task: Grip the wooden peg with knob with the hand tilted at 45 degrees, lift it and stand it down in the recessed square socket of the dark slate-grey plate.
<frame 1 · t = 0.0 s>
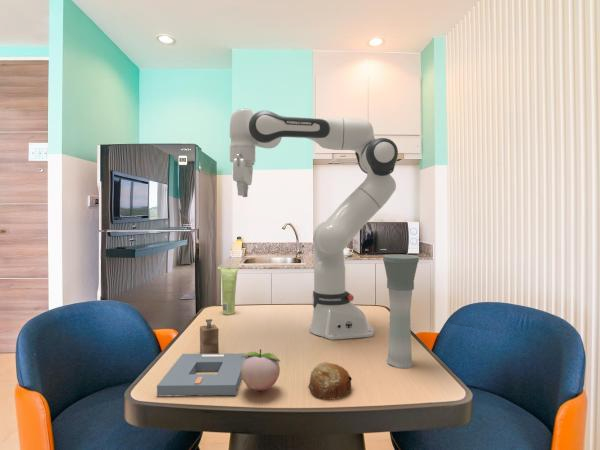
hand: (242, 196, 122), 48 cm above the table, tool pointing down, fingers open, 8 cm apart
decorative fruit: (260, 392, 81), on the table
container: (399, 363, 97), on the table
bread roll: (330, 390, 83), on the table
socket plate: (206, 377, 88), on the table
tube: (229, 313, 145), on the table
wooden peg with knob: (209, 354, 103), on the table
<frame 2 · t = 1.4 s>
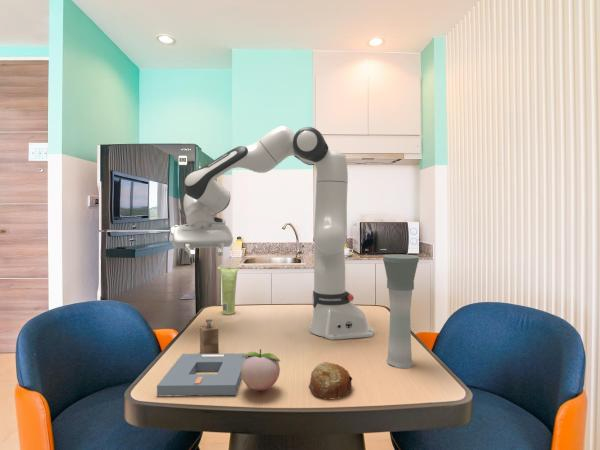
hand: (206, 255, 116), 28 cm above the table, tool tilted 45°, fingers open, 8 cm apart
nothing on the table moved.
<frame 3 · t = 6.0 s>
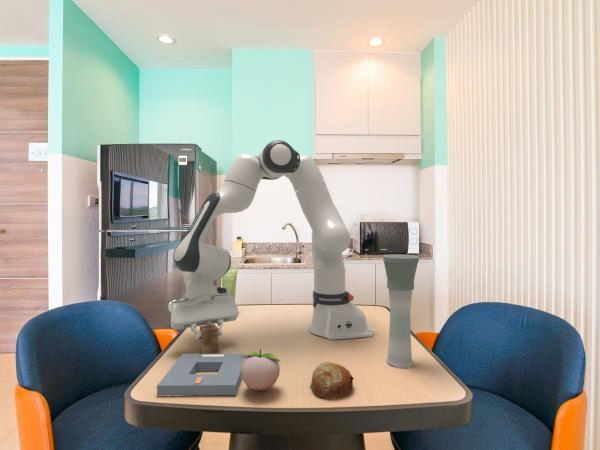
hand: (209, 336, 103), 5 cm above the table, tool tilted 45°, fingers closed on wooden peg with knob, 4 cm apart
wooden peg with knob: (209, 353, 103), on the table, touching gripper
everything else where it was.
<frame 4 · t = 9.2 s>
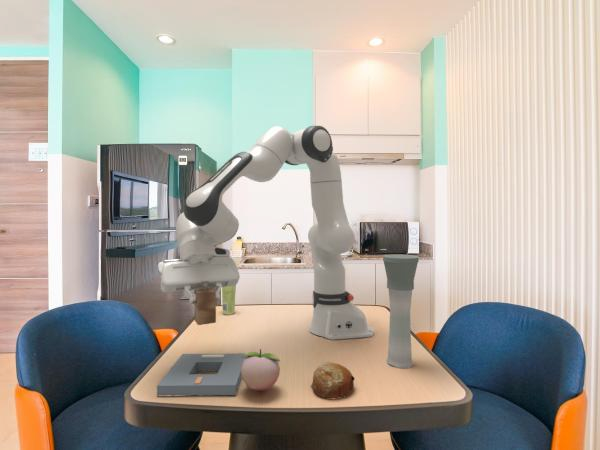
hand: (205, 301, 88), 20 cm above the table, tool tilted 45°, fingers closed on wooden peg with knob, 4 cm apart
wooden peg with knob: (205, 321, 89), point 14 cm above the table, touching gripper
everything else where it was.
when the fingers open (6 cm above the table, at t = 12.8 s): wooden peg with knob stays where it is, resting in socket plate.
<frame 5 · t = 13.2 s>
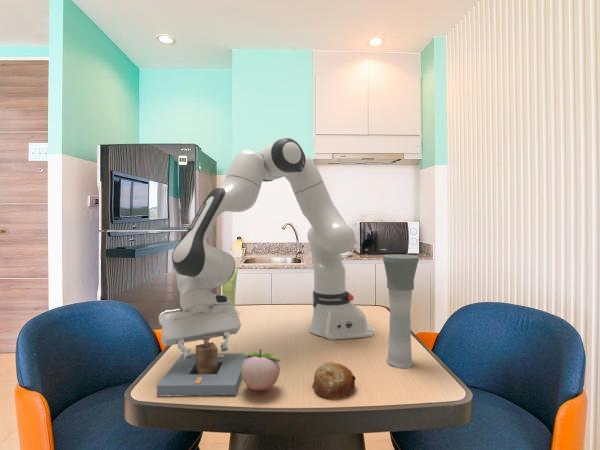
hand: (207, 353, 88), 6 cm above the table, tool tilted 45°, fingers open, 8 cm apart
wooden peg with knob: (206, 377, 88), resting in socket plate
everything else where it was.
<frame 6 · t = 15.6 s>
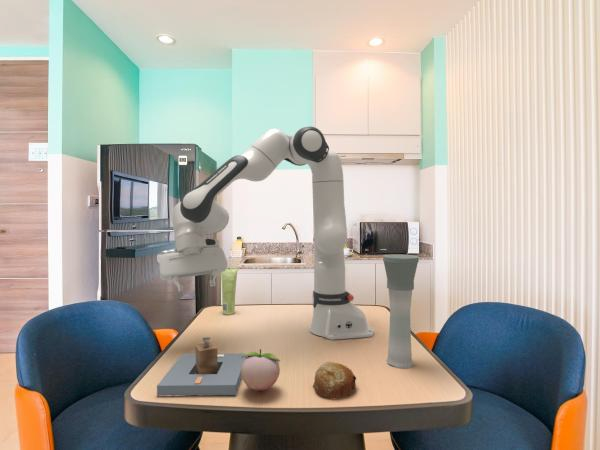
hand: (197, 288, 105), 19 cm above the table, tool tilted 30°, fingers open, 8 cm apart
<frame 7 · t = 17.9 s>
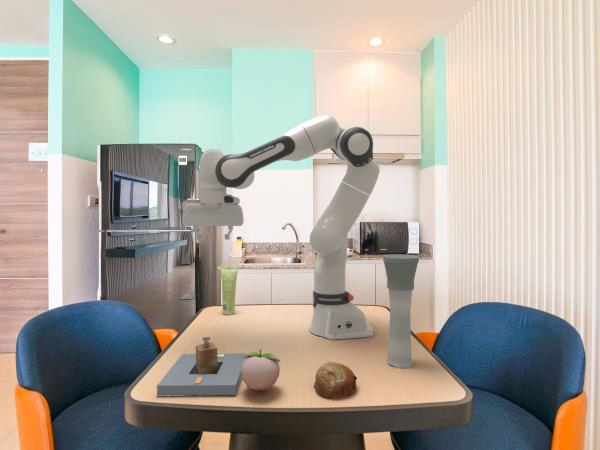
hand: (213, 239, 117), 33 cm above the table, tool pointing down, fingers open, 8 cm apart
at the end: wooden peg with knob inside the target area on the socket plate (0.1 cm from its centre), point 0.0 cm above the socket plate's base; wooden peg with knob tilted 0°; the gripper is holding nothing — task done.
